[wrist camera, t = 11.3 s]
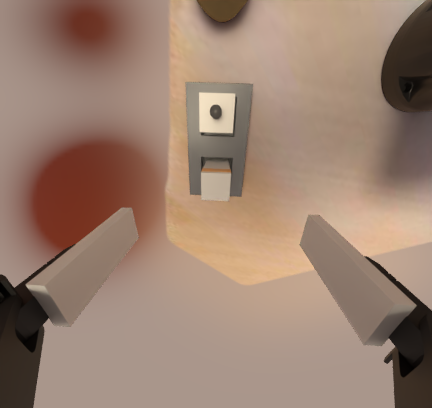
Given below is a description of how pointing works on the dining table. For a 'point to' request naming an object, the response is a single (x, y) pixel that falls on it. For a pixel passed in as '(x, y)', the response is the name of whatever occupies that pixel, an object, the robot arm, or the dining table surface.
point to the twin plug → (216, 112)
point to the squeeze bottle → (222, 8)
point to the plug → (215, 180)
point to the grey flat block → (218, 134)
